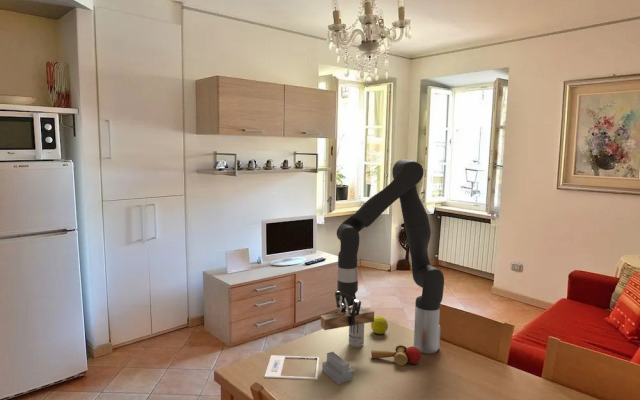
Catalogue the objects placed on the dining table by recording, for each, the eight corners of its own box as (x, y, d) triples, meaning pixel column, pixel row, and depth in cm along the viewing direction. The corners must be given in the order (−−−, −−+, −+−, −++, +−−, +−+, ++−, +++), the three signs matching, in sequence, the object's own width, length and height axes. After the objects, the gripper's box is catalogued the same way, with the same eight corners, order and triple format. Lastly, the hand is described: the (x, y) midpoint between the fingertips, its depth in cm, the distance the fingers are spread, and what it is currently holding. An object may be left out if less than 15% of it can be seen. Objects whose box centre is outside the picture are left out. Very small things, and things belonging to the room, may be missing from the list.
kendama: (371, 367, 155) (422, 366, 151) (369, 349, 156) (420, 348, 152) (373, 361, 163) (421, 360, 159) (372, 344, 163) (420, 342, 159)
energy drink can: (346, 346, 168) (347, 310, 166) (351, 340, 174) (352, 305, 172) (361, 349, 166) (362, 312, 164) (365, 343, 171) (366, 307, 170)
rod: (369, 317, 164) (369, 307, 163) (374, 321, 160) (374, 311, 160) (320, 325, 157) (320, 315, 156) (324, 330, 153) (324, 319, 153)
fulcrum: (336, 366, 153) (336, 350, 152) (352, 379, 145) (353, 362, 144) (322, 370, 150) (322, 354, 149) (338, 384, 141) (338, 367, 141)
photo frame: (271, 354, 159) (319, 356, 158) (271, 357, 159) (319, 359, 159) (264, 375, 145) (317, 377, 144) (264, 378, 145) (317, 380, 144)
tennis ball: (370, 329, 185) (371, 313, 184) (387, 330, 184) (387, 314, 183) (371, 336, 178) (371, 320, 177) (387, 337, 177) (388, 321, 176)
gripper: (367, 281, 152) (367, 327, 154) (345, 271, 164) (344, 314, 167) (350, 285, 148) (350, 332, 151) (328, 275, 160) (328, 318, 163)
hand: (347, 322), depth 159 cm, fingers closed on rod, 4 cm apart
